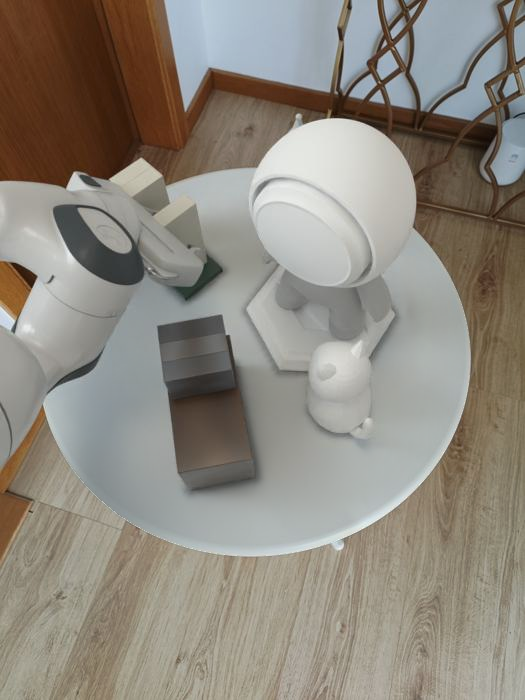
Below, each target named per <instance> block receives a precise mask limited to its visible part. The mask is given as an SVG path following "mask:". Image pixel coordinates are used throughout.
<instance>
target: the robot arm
mask: <svg viewBox="0 0 525 700" xmlns="http://www.w3.org/2000/svg"><path fill="white" fill-rule="evenodd" d="M158 212H159V211H157V210H151V209H149V208H147V207H145V206H143V205H141V204H139V203H138V202H137V201H136V200H135V199H134V198H132V197H131V196H129V195H128V194H127V193H126V192H125V191H124V190H123V189H122V188H121V187H120V186H119V185H117V184H115V183H113V182H111V181H108V179H104V178H99V177H95V176H90V175H89V174H87V173H86V172H82V171H73V173H72V175H71V177H70V179H69V181H68V183H67V185H66V188H65V187H63V186H60V185H57V184H51V183H45V182H44V183H43V182H36V181H23V180H2V181H0V262H5V263H16V264H18V265H20V266H22V267H23V268H25V269H27V270H28V271H30V272H32V273H33V274H34V275H36V279H35V282H34V284H33V285H32V288H31V289H30V293H29V294H28V297H27V299H26V301H25V303H24V306H23V307H22V310H21V311H20V312H19V313H18V315H17V317H16V319H15V321H14V322H13V323H14V324H13V325H12V327H11V329H8V328H7V327H5V326H3V325H1V324H0V471H1V470H2V469H3V468H4V467H5V465H7V463H8V462H9V461H10V459H11V458H12V456H13V455H14V454H15V453H16V452H17V450H18V449H19V447H20V446H21V444H22V443H23V442H24V440H25V439H26V437H27V435H28V433H29V432H30V431H31V429H32V426H33V425H34V423H35V421H36V420H37V418H38V416H39V413H40V411H41V409H42V407H43V405H44V402H45V400H46V397H47V396H48V395H49V394H50V393H51V392H52V391H54V390H55V389H56V388H57V387H59V386H62V385H63V384H65V383H68V382H71V381H74V380H76V379H80V378H82V377H84V376H86V375H88V374H89V373H91V372H92V371H93V370H95V368H96V367H97V366H98V363H99V361H100V359H101V357H102V355H103V352H104V351H105V348H106V346H107V343H108V342H109V340H110V338H111V336H112V335H113V333H114V331H115V329H116V328H117V326H118V324H119V322H120V321H121V319H122V317H123V316H124V314H125V312H126V310H127V308H128V307H129V305H130V303H131V302H132V299H134V296H135V294H136V292H137V291H138V289H139V287H140V285H141V284H142V283H141V282H142V280H143V279H144V277H145V276H146V277H147V278H149V280H151V281H153V282H154V283H157V284H159V285H164V286H169V285H170V286H181V287H191V286H193V285H194V284H195V283H196V282H197V280H198V278H199V277H200V275H201V273H202V270H203V266H204V263H203V262H202V261H201V260H200V259H199V256H200V255H201V253H202V250H201V249H200V248H199V247H198V246H197V245H195V244H188V246H187V247H186V246H185V245H184V244H183V243H182V242H181V241H179V240H178V239H177V238H176V237H175V236H174V235H173V234H172V233H171V232H170V231H169V230H167V229H166V228H165V227H163V226H162V225H161V224H160V223H159V222H158V221H157V220H156V219H155V218H154V217H152V216H154V215H155V214H157V213H158ZM170 286H169V287H170Z"/></svg>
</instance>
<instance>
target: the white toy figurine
mask: <svg viewBox="0 0 525 700" xmlns="http://www.w3.org/2000/svg"><path fill="white" fill-rule="evenodd" d="M288 132H289V131H288ZM288 132H287V133H286V134H285V135H284V136H282V137H281V138H280V139H278V140H277V141H276V142H275V143H274V144H273V145H272V147H270V149H269V150H268V151H267V152H266V154H265V155H264V157H262V159H261V161H260V163H259V164H258V166H257V168H256V170H255V172H254V175H253V176H252V181H251V183H250V187H249V192H248V209H249V215H250V218H251V220H252V223H253V225H254V227H255V231H256V233H257V236H258V238H259V240H260V242H261V243H262V244H261V245H263V247H264V248H263V251H262V260H263V263H264V264H265V265H268V264H270V263H271V262H276V263H277V265H278V266H277V267H276V269H275V271H273V273H272V274H271V275H270V277H269V278H268V279H267V281H266V282H265V283H264V284H263V286H262V287H261V288H260V290H259V291H258V292H257V294H255V296H254V297H253V299H252V300H251V301H250V302H249V304H248V305H247V306H246V309H245V310H246V312H247V314H248V316H249V318H250V320H251V322H252V323H253V325H254V326H255V328H256V330H257V332H258V334H259V335H260V338H261V339H262V341H263V343H264V345H265V346H266V348H267V350H268V352H269V353H270V356H271V357H272V359H273V361H274V362H275V364H276V366H277V368H278V369H279V371H287V372H289V371H290V372H307V373H308V371H309V364H310V359H311V356H312V354H313V352H314V351H315V349H316V348H317V347H318V346H320V345H321V344H323V343H326V342H330V341H337V342H347V343H351V344H354V345H355V344H356V343H357V342H358V341H360V340H362V341H364V342H365V345H366V355H367V356H368V358H369V359H370V357H371V355H372V353H373V352H374V350H375V348H376V347H377V345H378V344H379V342H380V341H381V339H382V338H383V336H384V334H385V333H386V331H387V330H388V328H389V326H390V325H391V323H392V321H394V318H395V317H396V314H395V312H394V310H393V309H392V296H391V292H390V289H389V287H388V285H387V283H386V281H385V280H384V278H383V276H382V275H381V274H382V273H383V272H385V271H386V270H387V269H389V267H390V266H391V265H392V264H393V263H395V261H396V259H398V257H399V256H400V254H401V253H402V251H403V249H404V248H405V246H406V244H407V242H408V241H409V237H410V235H411V233H412V230H413V227H414V223H415V218H416V212H417V190H416V189H417V188H416V184H415V180H414V179H415V178H414V176H413V172H412V171H411V168H410V165H409V164H408V161H407V159H406V157H405V156H404V155H403V153H402V151H401V150H400V148H399V147H398V146H397V145H396V144H395V143H394V142H393V141H392V140H391V138H389V137H388V136H386V135H385V134H384V133H383V132H382V131H380V130H378V129H377V128H375V127H373V126H371V125H369V124H367V123H365V122H362V121H358V120H354V119H348V118H338V117H337V118H335V117H333V118H332V117H331V118H323V119H318V120H314V121H310V122H308V123H305V124H304V123H303V125H302V126H300V127H298V128H296V129H294V130H292V131H291V132H289V133H288Z"/></svg>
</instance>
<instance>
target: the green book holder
mask: <svg viewBox="0 0 525 700" xmlns="http://www.w3.org/2000/svg"><path fill="white" fill-rule="evenodd" d="M107 180H108V181H111V182H113V183H115V184H117V185H119V186H120V187H121V188H122V189H123V190H124V191H125V192H126V193H127V194H128V195H129V196H131V197H132V198H134V199H135V200H136V201H137V202H138V203H139V204H141V205H143V206H145V207H147V208H149V209H151V210H157V211H161V210H162V209H163V208H165V207H166V206H168V205H169V204H170V203H171V202H170V198H169V193H168V190H167V187H166V182H165V178H164V175H163V174H162V173H160V172H159V171H158V170H157V169H156V168H155V167H154V166H152V165H151V164H150V163H148V162H147V161H146V160H145V159H144V158H143V157H139V159H137V160H136V161H134V162H132V163H131V164H129V165H128V166H126V167H125V168H124V169H122V170H120V171H119V172H117V173H116V174H114V175H113V176H112V177H110V178H109V179H107ZM206 257H207V263H205V264H204V266H203V270H202V273H201V275H200V277H199V278H198V280H197V282H196V283H195V284H194V285H193V286H191V287H181V286H170V285H168V286H169V287H170V288H172V289H173V291H174V292H176V293H177V294H178V296H180V297H181V298H182V299H183V300H184V301H185V302H186V301H188V300H189V299H190V298H191V297H192V296H194V295H195V294H196V293H197V292H199V291H200V290H201V289H203V288H204V287H205V286H206V285H208V284H209V283H210V282H211V281H212V280H214V279H215V278H217V277H218V276H219V275H220V274H221V273H222V272H223V271H224V270H223V269H224V268H223V267H222V266H221V265H220V264H219V263H217V262H216V261H215V260H214V259H213V258H212V257H211V256H210V255H208V254H207V253H206Z"/></svg>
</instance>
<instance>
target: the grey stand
mask: <svg viewBox="0 0 525 700" xmlns="http://www.w3.org/2000/svg"><path fill="white" fill-rule="evenodd" d="M156 330H157V337H158V346H159V355H160V361H161V369H162V371H161V372H162V379H163V383H164V385H165V387H166V389H167V397H168V398H167V399H168V407H169V415H170V423H171V430H172V439H173V447H174V454H175V463H176V472H177V474H178V476H179V478H181V480H182V482H183V483H184V485H186V487H187V489H188V490H189V491H193V490H198V489H203V488H208V487H213V486H218V485H223V484H228V483H233V482H238V481H243V480H248V479H249V480H250V479H253V478H256V471H255V465H254V464H255V463H254V458H253V452H252V447H251V442H250V437H249V431H248V425H247V420H246V415H245V409H244V405H243V404H244V403H243V398H242V393H241V388H240V382H239V377H238V372H237V367H236V361H235V355H234V350H233V346H232V340H231V335H230V334H226V329H225V323H224V317H223V314H216V315H210V316H205V317H199V318H194V319H188V320H182V321H176V322H170V323H166V324H159V325H157V326H156Z"/></svg>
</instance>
